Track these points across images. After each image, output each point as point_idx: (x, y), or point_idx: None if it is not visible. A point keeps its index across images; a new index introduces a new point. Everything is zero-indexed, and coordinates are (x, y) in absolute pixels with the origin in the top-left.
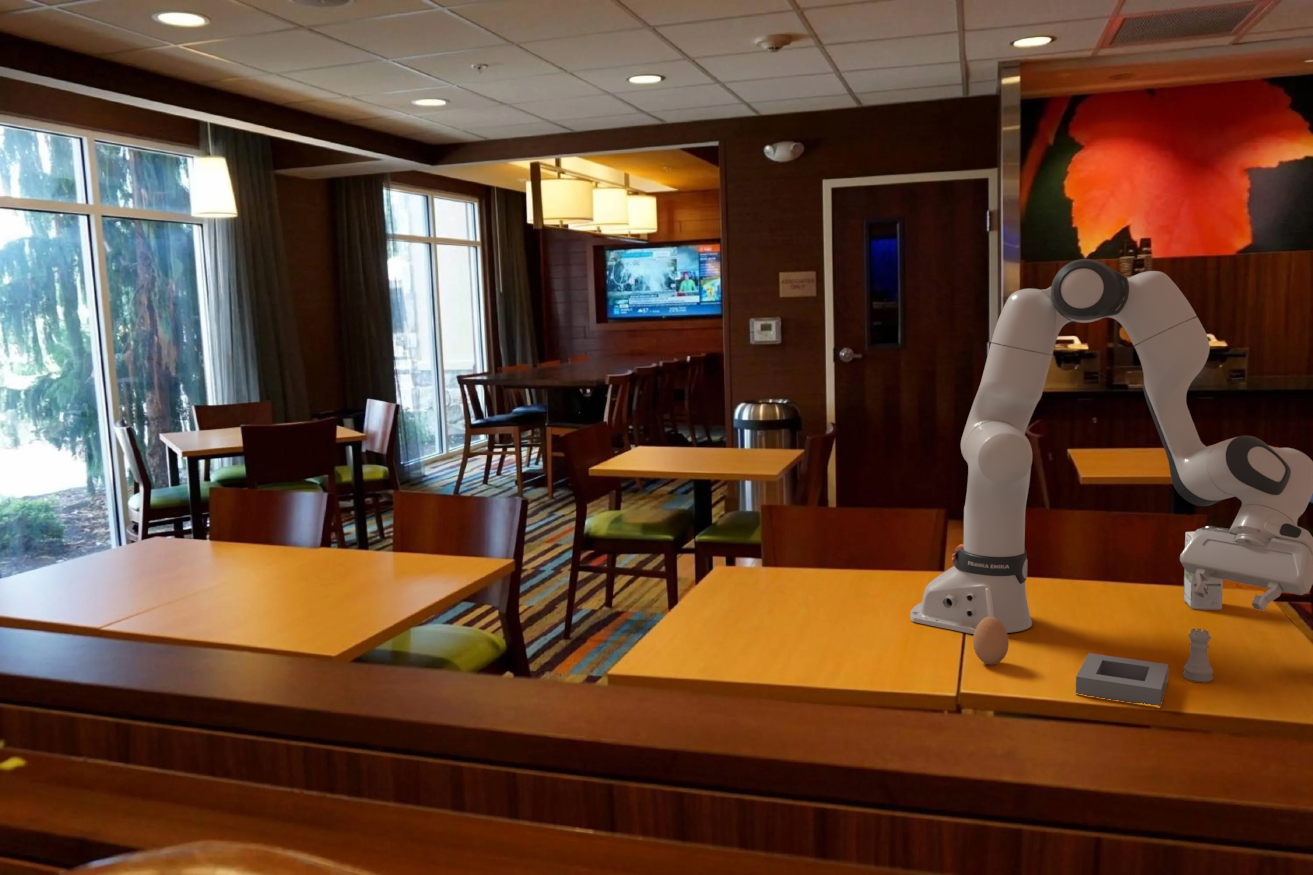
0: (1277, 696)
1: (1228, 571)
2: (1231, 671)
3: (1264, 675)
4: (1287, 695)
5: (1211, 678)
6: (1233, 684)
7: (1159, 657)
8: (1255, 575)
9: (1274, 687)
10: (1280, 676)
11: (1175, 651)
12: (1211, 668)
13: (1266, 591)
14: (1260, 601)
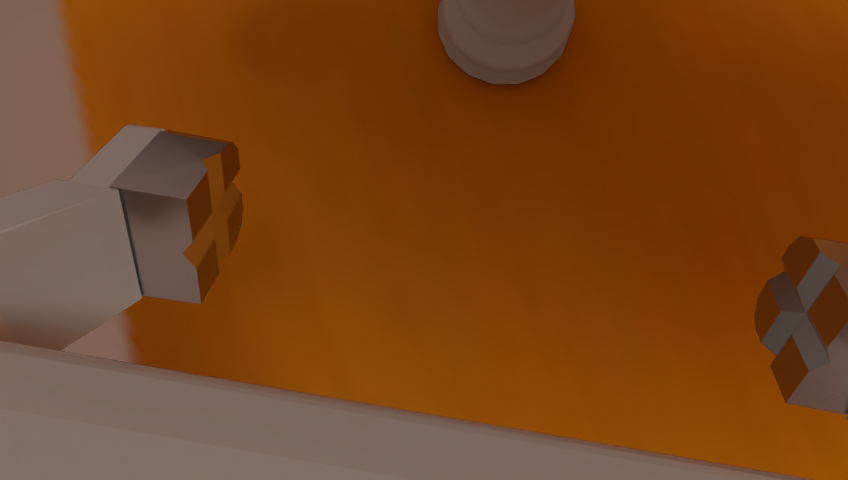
0: (162, 27)
1: (698, 465)
2: (416, 223)
3: (279, 269)
4: (131, 67)
5: (439, 12)
6: (353, 52)
7: (753, 196)
8: (126, 370)
9: (200, 133)
10: (216, 306)
11: (734, 345)
12: (453, 24)
13: (23, 220)
14: (131, 137)
